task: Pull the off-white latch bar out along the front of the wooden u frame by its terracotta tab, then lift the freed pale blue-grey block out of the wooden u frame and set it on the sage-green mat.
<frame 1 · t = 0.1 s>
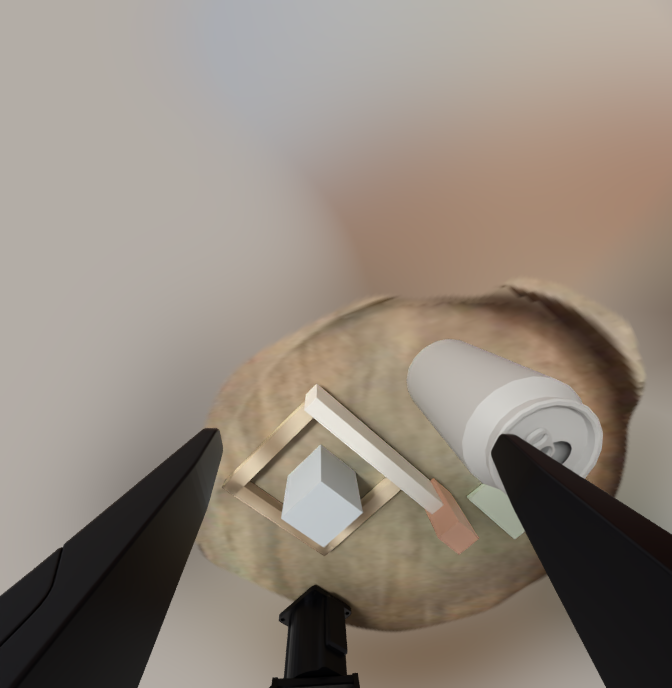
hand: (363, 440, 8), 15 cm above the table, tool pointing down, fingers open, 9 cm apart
mat: (520, 492, 29), on the table
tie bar: (388, 466, 23), point 3 cm above the table, slide at 0.0 cm
wooden u frame: (321, 473, 26), on the table
block: (321, 473, 26), on the table
can: (440, 373, 25), on the table
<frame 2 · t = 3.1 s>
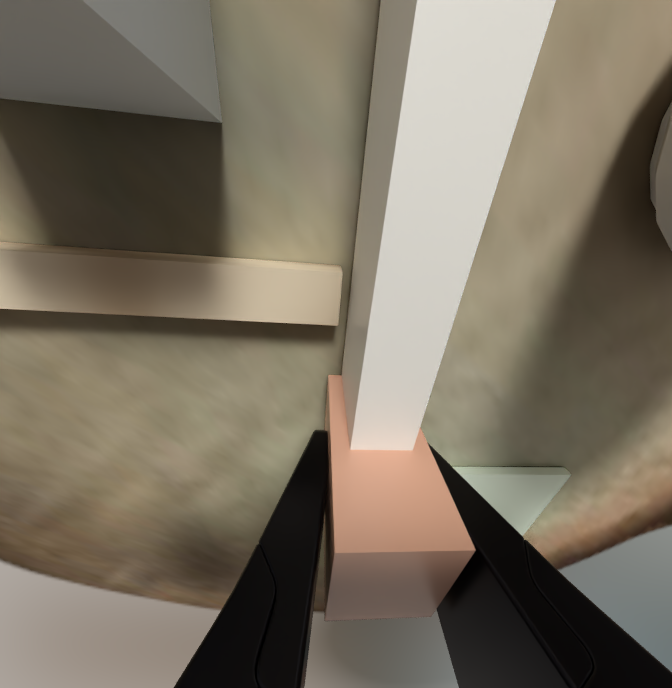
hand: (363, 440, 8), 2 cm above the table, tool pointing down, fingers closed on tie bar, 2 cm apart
mat: (451, 518, 14), on the table
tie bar: (458, 57, 3), point 3 cm above the table, slide at 0.0 cm, touching gripper
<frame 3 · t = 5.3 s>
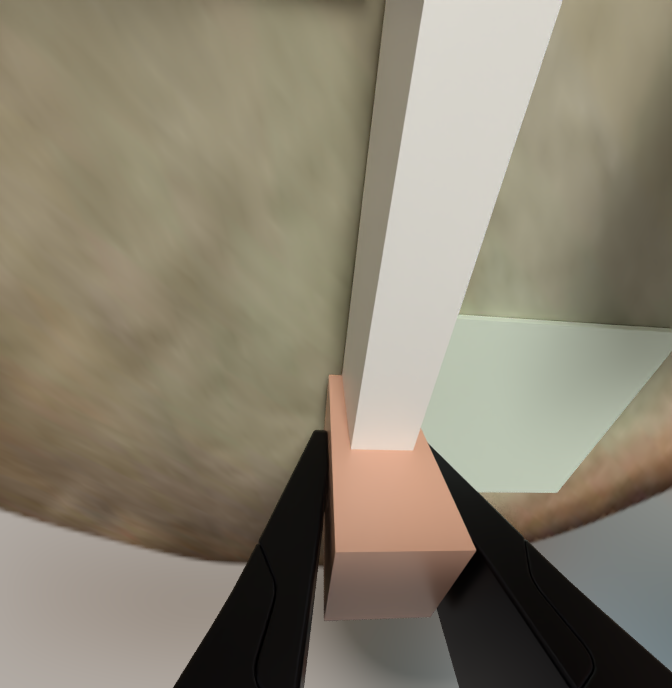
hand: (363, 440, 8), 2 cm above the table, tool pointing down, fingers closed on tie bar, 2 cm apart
mat: (503, 418, 11), on the table
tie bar: (463, 58, 3), point 3 cm above the table, slide at 7.7 cm, touching gripper
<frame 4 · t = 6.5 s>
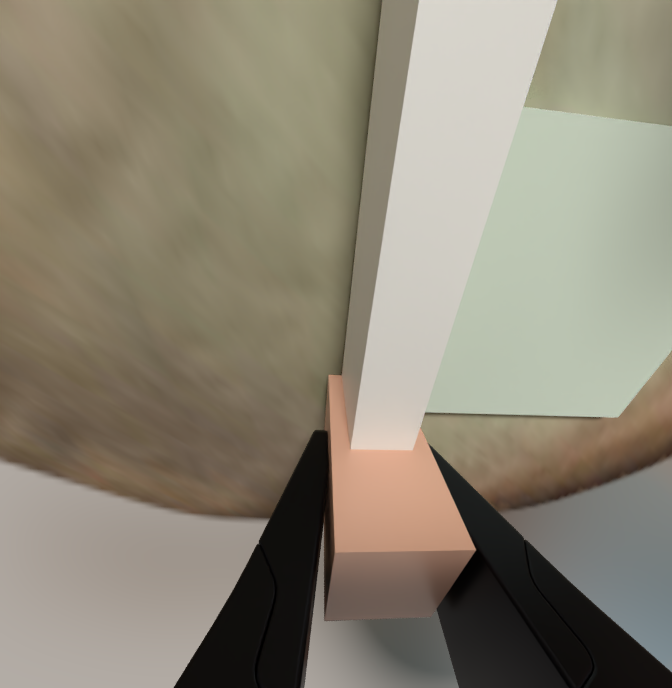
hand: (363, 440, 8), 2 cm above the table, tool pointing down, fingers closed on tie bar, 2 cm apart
mat: (563, 304, 8), on the table
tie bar: (459, 57, 3), point 3 cm above the table, slide at 12.8 cm, touching gripper
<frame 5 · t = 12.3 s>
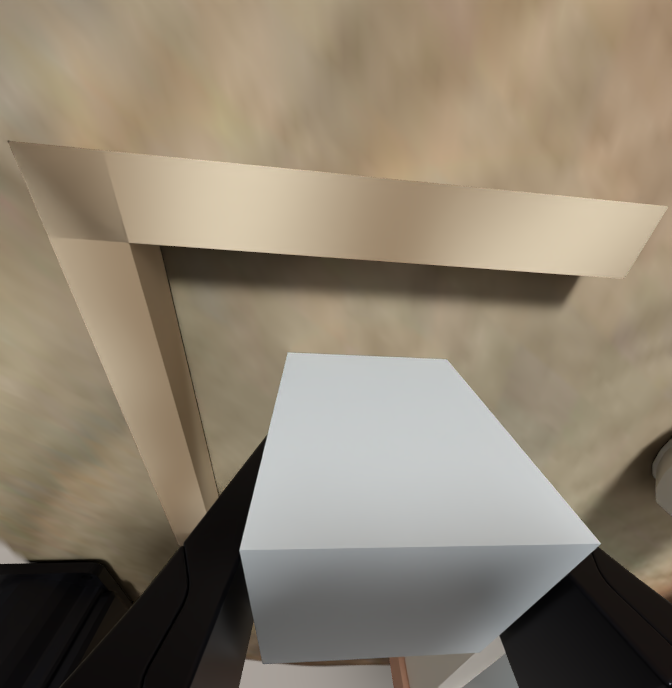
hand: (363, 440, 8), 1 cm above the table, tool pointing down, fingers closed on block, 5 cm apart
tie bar: (451, 667, 14), point 3 cm above the table, slide at 13.0 cm
wooden u frame: (359, 416, 9), on the table
block: (359, 416, 9), on the table, touching gripper
when the fingers open (2 cm above the table, at t = 18.4 s): block stays where it is, resting on mat.
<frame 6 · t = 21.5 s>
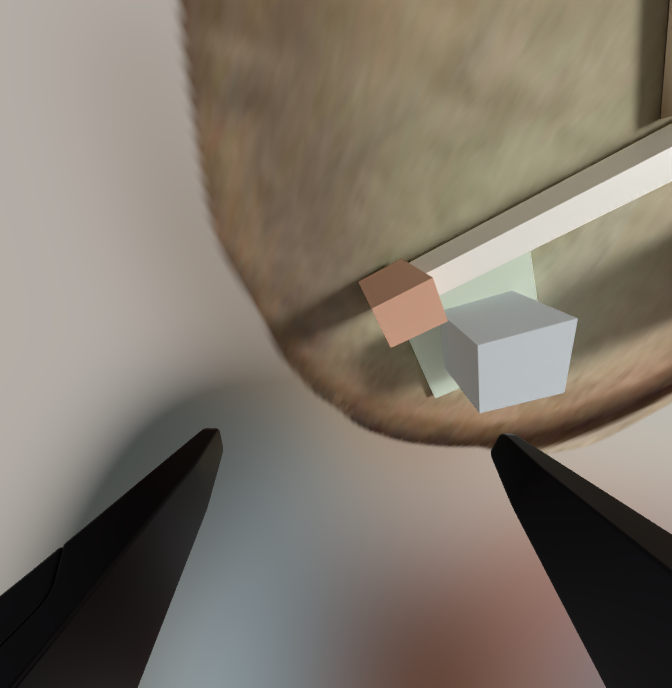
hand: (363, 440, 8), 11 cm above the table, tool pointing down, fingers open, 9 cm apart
mat: (472, 330, 19), on the table
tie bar: (548, 221, 13), point 3 cm above the table, slide at 13.0 cm
block: (475, 332, 18), resting on mat
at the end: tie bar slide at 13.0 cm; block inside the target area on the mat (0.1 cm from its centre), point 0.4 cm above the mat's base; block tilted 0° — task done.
